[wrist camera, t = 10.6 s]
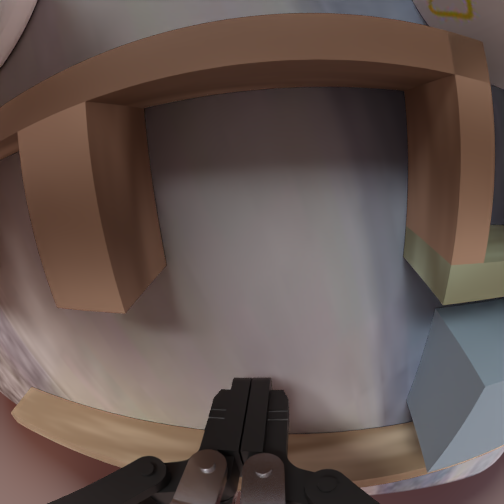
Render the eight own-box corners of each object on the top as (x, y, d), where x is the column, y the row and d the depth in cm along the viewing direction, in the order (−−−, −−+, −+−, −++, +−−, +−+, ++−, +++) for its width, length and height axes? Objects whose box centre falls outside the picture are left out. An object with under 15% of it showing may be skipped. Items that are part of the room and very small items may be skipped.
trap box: (-46, 167, 11) (-84, 180, 8) (564, 109, 6) (610, 114, 3) (38, 396, 18) (18, 422, 14) (491, 408, 13) (508, 443, 10)
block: (433, 306, 11) (485, 386, 6) (532, 291, 10) (584, 344, 5) (405, 398, 13) (427, 472, 8) (498, 375, 12) (529, 431, 7)
